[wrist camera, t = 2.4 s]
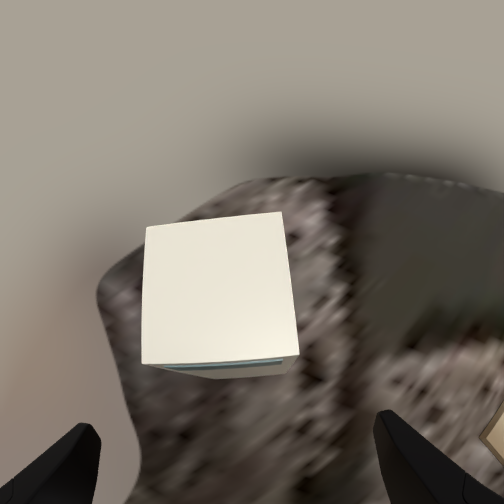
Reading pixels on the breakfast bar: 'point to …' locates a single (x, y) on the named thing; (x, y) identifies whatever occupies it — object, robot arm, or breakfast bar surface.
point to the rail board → (495, 435)
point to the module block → (219, 298)
